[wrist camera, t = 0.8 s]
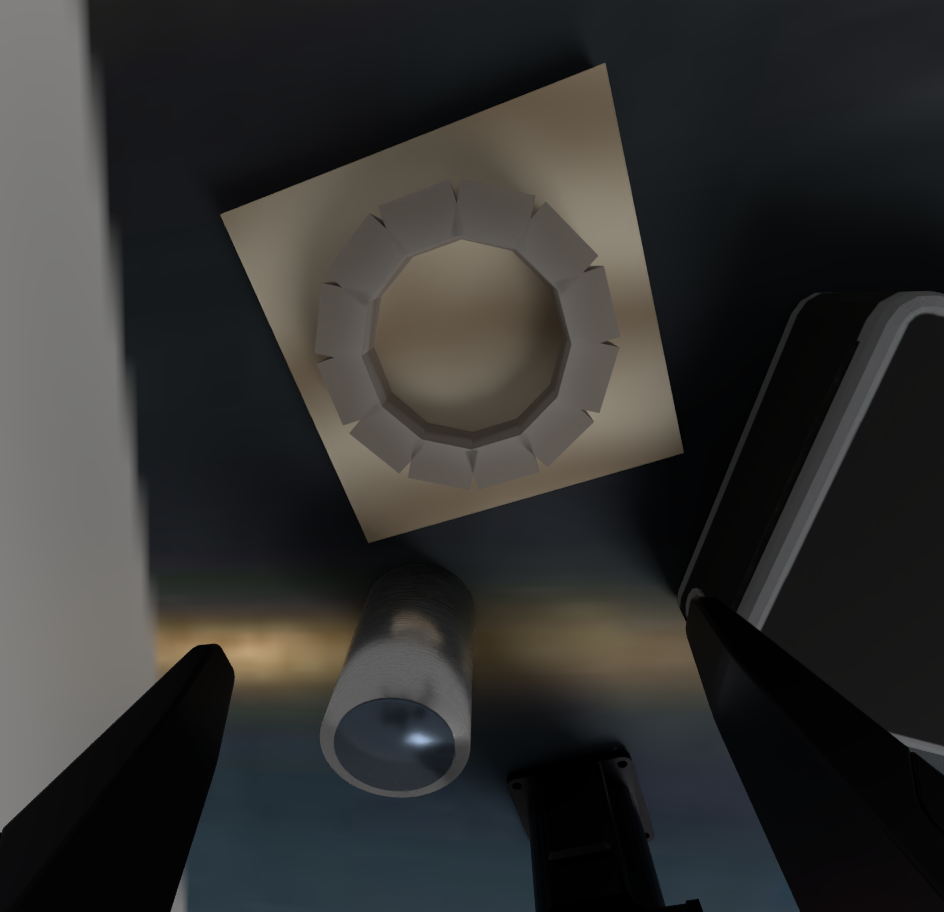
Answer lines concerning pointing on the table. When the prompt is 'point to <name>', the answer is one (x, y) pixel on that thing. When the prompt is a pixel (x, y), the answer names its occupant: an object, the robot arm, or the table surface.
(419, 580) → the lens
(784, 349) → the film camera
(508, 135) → the mount
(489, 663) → the table surface
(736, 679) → the robot arm
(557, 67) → the table surface
